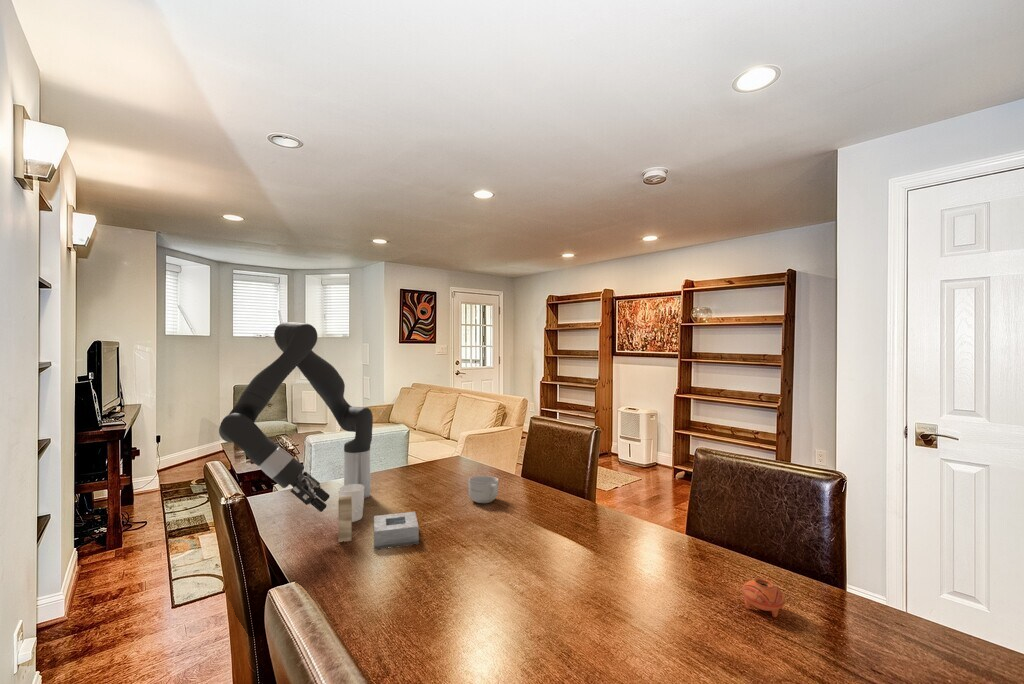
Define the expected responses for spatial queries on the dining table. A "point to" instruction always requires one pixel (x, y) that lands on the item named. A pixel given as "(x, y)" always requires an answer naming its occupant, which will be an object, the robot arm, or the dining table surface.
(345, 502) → the square wooden peg
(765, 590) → the footed terracotta jar
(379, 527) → the grey square socket block
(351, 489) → the white cup
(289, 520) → the dining table surface
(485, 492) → the teacup
